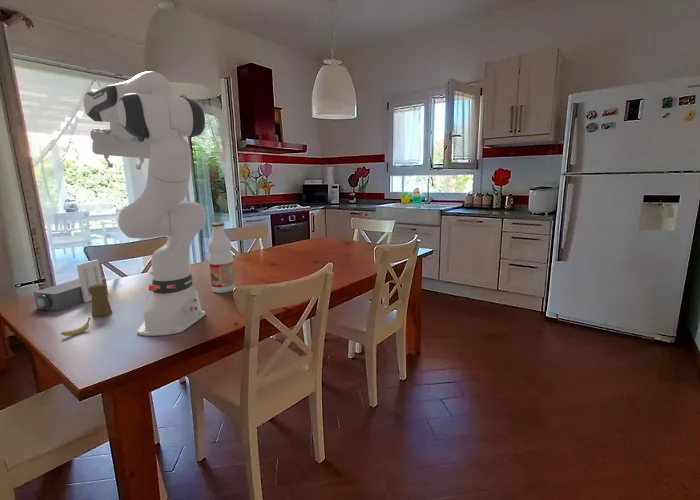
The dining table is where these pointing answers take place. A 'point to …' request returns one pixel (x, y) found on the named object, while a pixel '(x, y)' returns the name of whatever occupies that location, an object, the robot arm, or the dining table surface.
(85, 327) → the banana
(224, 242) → the fruit juice
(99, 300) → the cork
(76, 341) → the dining table surface
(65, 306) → the camera block
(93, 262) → the cover
